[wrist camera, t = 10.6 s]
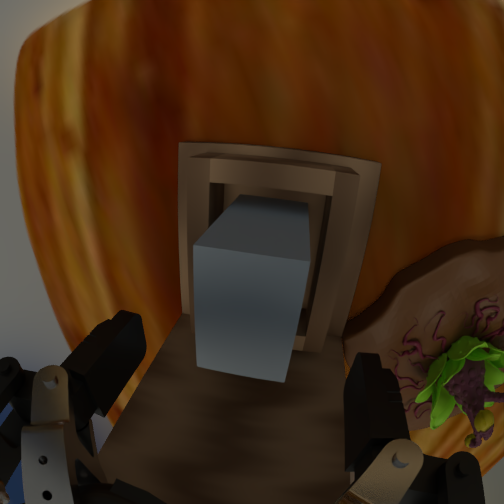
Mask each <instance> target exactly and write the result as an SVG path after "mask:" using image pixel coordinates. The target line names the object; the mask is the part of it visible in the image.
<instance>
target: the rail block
mask: <svg viewBox="0 0 504 504" xmlns="http://www.w3.org/2000/svg"><path fill="white" fill-rule="evenodd" d="M309 267H310V234H309V212H308V203H306V202H299V201H291V200H284V199H277V198H269V197H261V196H252V195H244V194H240V195H239V196H238V197H237V198H236V199H235V200H234V201H233V203H232V204H231V205H230V206H229V207H228V208H227V209H226V210H225V211H224V212H223V213H222V214H221V215H220V216H219V217H218V219H217V220H216V221H215V222H214V223H213V224H212V225H211V226H210V227H209V228H208V229H207V230H206V231H205V233H204V234H203V235H202V236H201V237H200V238H199V239H198V240H197V241H196V242H195V244H194V245H193V275H194V316H195V340H196V359H197V366H198V367H202V368H207V369H211V370H216V371H220V372H225V373H230V374H236V375H241V376H246V377H252V378H258V379H264V380H270V381H277V382H285V378H286V374H287V370H288V366H289V362H290V357H291V353H292V349H293V344H294V340H295V336H296V331H297V326H298V322H299V317H300V312H301V308H302V303H303V298H304V293H305V288H306V283H307V278H308V272H309Z"/></svg>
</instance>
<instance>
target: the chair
mask: <svg viewBox="0 0 504 504" xmlns="http://www.w3.org/2000/svg"><path fill="white" fill-rule="evenodd" d="M380 170H381V163H379V162H376V161H371V160H365V159H360V158H354V157H348V156H342V155H336V154H329V153H322V152H315V151H308V150H300V149H291V148H282V147H272V146H261V145H248V144H233V143H214V142H179V155H178V233H179V262H180V283H181V299H182V315H181V316H180V318H179V319H178V321H177V323H176V324H175V326H174V328H173V329H172V331H171V332H170V334H169V336H168V337H167V339H166V340H165V342H164V344H163V345H162V347H161V349H160V350H159V352H158V353H157V355H156V357H155V358H154V360H153V362H152V363H151V365H150V367H149V368H148V370H147V372H146V373H145V375H144V377H143V378H142V380H141V382H140V383H139V385H138V387H137V388H136V390H135V392H134V393H133V395H132V397H131V398H130V400H129V402H128V403H127V405H126V407H125V408H124V410H123V412H122V414H121V415H120V417H119V419H118V420H117V422H116V424H115V426H114V427H113V429H112V431H111V433H110V434H109V436H108V438H107V439H106V441H105V443H104V445H103V446H102V448H101V450H100V452H99V454H98V459H99V462H100V465H101V467H102V469H103V471H104V473H105V476H106V479H107V482H108V483H110V484H114V482H115V480H116V478H117V479H119V480H121V481H124V482H126V483H128V484H131V485H133V486H135V487H138V488H140V489H143V490H145V491H148V492H149V493H151V494H152V495H154V496H156V497H157V498H159V499H160V500H162V501H164V502H165V503H167V504H332V503H333V502H334V501H335V500H336V499H337V498H338V497H339V496H340V495H341V494H342V493H343V492H344V491H345V490H346V489H347V488H348V487H349V485H350V472H345V435H344V403H343V392H344V385H345V382H346V378H345V367H344V357H343V348H342V339H341V337H342V333H343V330H344V327H345V324H346V321H347V317H348V314H349V310H350V307H351V304H352V300H353V296H354V293H355V289H356V285H357V282H358V278H359V274H360V270H361V266H362V262H363V258H364V253H365V249H366V245H367V240H368V236H369V231H370V226H371V221H372V216H373V211H374V206H375V200H376V195H377V189H378V183H379V177H380ZM240 194H244V195H252V196H261V197H269V198H277V199H284V200H291V201H299V202H306V203H308V212H309V234H310V267H309V272H308V278H307V283H306V288H305V293H304V298H303V303H302V308H301V312H300V317H299V322H298V326H297V331H296V336H295V340H294V344H293V349H292V353H291V357H290V362H289V366H288V370H287V374H286V378H285V382H277V381H270V380H264V379H258V378H252V377H246V376H241V375H236V374H230V373H225V372H220V371H216V370H211V369H207V368H202V367H198V366H197V359H196V340H195V316H194V275H193V245H194V244H195V242H196V241H197V240H198V239H199V238H200V237H201V236H202V235H203V234H204V233H205V231H206V230H207V229H208V228H209V227H210V226H211V225H212V224H213V223H214V222H215V221H216V220H217V219H218V217H219V216H220V215H221V214H222V213H223V212H224V211H225V210H226V209H227V208H228V207H229V206H230V205H231V204H232V203H233V201H234V200H235V199H236V198H237V197H238V196H239V195H240Z"/></svg>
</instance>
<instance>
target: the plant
mask: <svg viewBox="0 0 504 504" xmlns="http://www.w3.org/2000/svg"><path fill="white" fill-rule="evenodd" d="M342 343H343V350H344V356H345V359H346V361H347V364H348V365H349V367H350V369H351V367H352V364H353V362H354V359H355V356H356V354H357V353H358V352H364V353H378V354H379V356H380V359H381V364H382V368H390V369H391V371H392V372H393V373H394V375H395V376H396V378H397V379H398V383H399V387H400V393H401V395H402V400H403V401H402V403H403V405H404V409H405V414H406V419H407V424H408V429H409V431H411V430H418V429H423V428H427V427H430V428H431V429H433V430H434V429H436V428H437V427H439V426H440V425H442V424H443V423H444V422H445V421H446V419H448V418H450V417H452V416H454V415H457V414H459V413H461V412H463V413H464V414H465V415H467V416H468V418H469V420H470V422H471V425H472V428H473V430H474V432H473V433H474V434H470V435H468V436H467V437H466V438H465V445H466V446H467V447H471V448H473V447H474V448H476V447H477V446H480V445H481V443H482V440H481V438H482V437H483V438H484V440H487V439H488V438H489V437H490V436H491V435H492V432H493V427H494V416H493V414H492V412H491V411H490V410H484V407H490V406H492V405H493V404H494V402H499V403H500V402H504V393H499V392H497V393H496V392H495V389H496V388H498V387H499V386H501V385H502V384H503V383H504V236H502V237H498V238H494V239H490V240H485V241H475V240H462V241H459V242H455V243H452V244H449V245H447V246H445V247H443V248H441V249H439V250H437V251H436V252H434V253H432V254H431V255H429V256H428V257H426V258H424V259H422V260H421V261H419V262H417V263H415V264H413V265H411V266H409V267H408V268H406V269H404V270H402V271H401V272H399V273H397V274H396V275H395V276H394V277H393V278H392V280H391V281H390V283H389V285H388V286H387V288H386V290H385V291H384V293H383V294H382V296H381V297H380V298H379V299H378V300H377V301H376V302H375V303H374V304H372V305H371V306H370V307H369V308H367V309H366V310H365V311H363V312H362V313H361V314H360V315H358V316H357V317H355V318H354V319H352V320H350V321H348V322H346V324H345V327H344V330H343V333H342Z"/></svg>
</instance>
